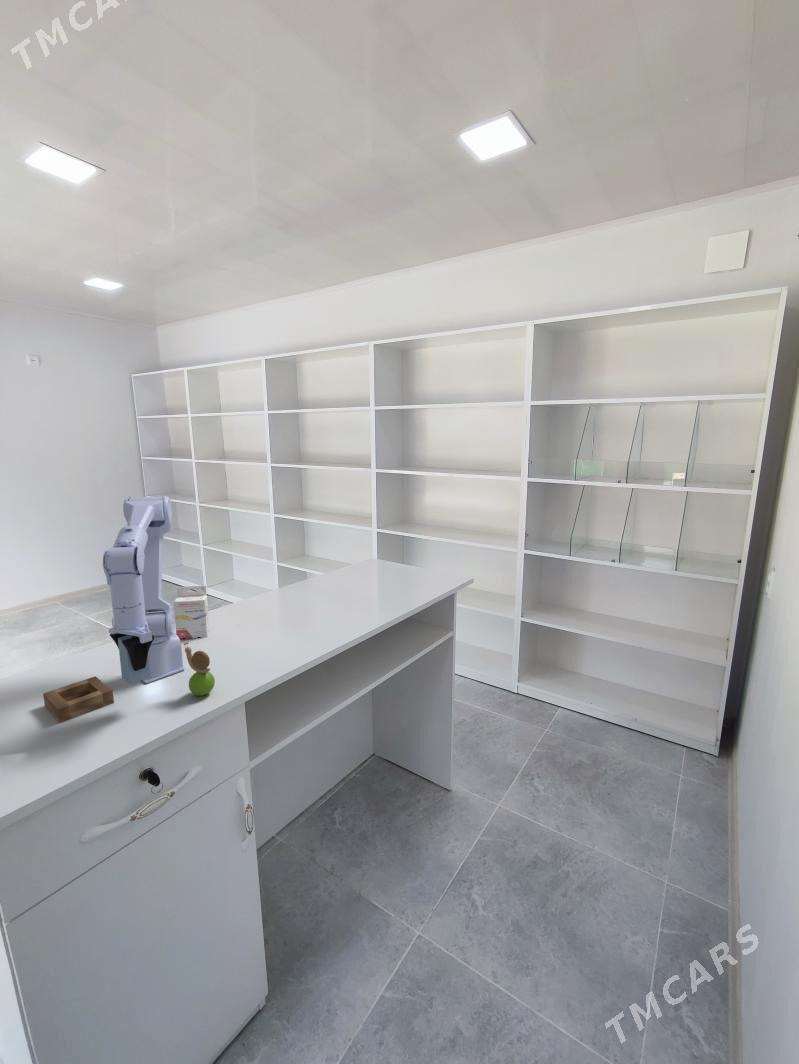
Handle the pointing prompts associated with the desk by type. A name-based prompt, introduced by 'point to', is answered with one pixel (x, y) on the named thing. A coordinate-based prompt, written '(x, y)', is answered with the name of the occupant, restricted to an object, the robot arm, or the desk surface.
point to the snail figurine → (199, 672)
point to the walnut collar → (78, 698)
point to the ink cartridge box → (191, 612)
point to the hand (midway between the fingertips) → (134, 665)
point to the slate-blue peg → (126, 665)
